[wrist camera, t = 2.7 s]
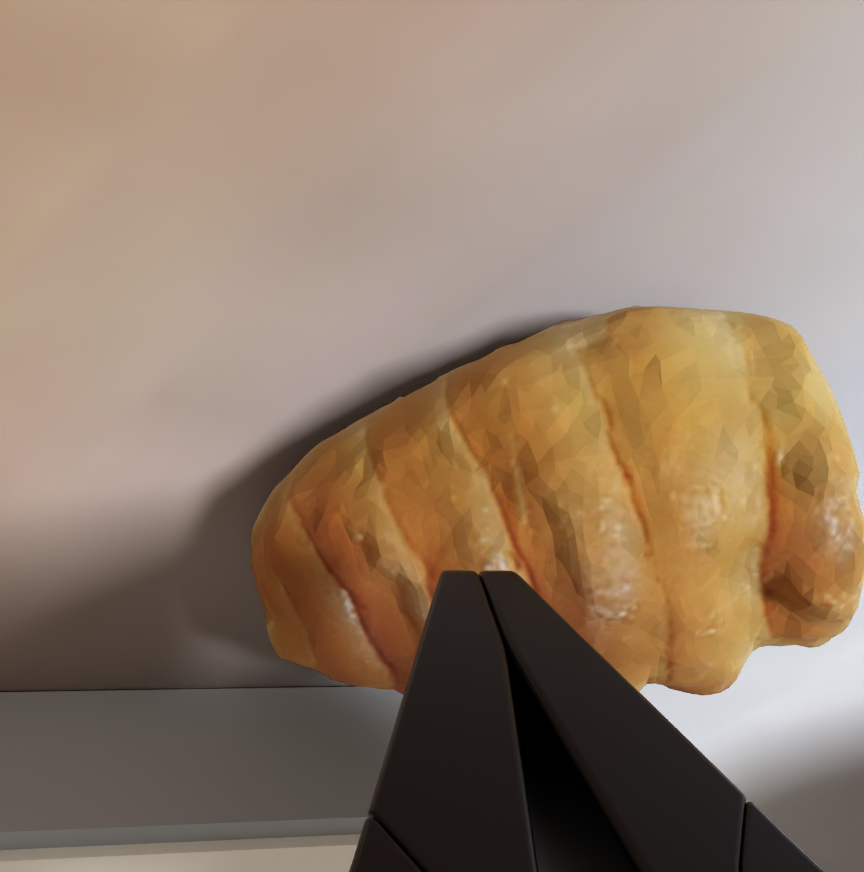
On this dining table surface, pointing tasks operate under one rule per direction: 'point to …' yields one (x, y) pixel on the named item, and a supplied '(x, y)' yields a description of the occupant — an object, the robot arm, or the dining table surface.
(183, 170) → the dining table surface
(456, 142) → the dining table surface
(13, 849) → the plinth
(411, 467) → the pastry
